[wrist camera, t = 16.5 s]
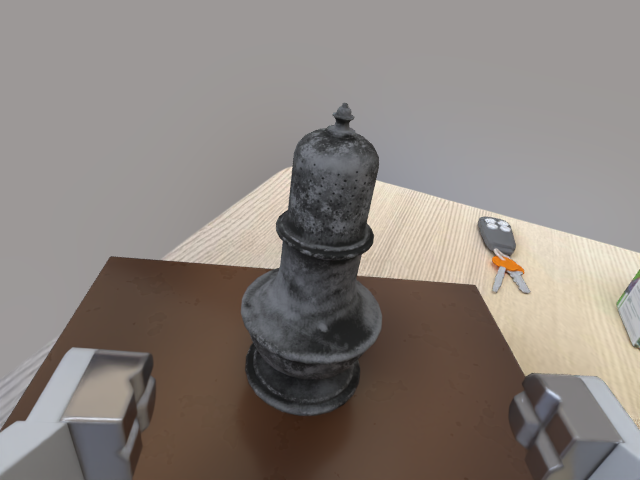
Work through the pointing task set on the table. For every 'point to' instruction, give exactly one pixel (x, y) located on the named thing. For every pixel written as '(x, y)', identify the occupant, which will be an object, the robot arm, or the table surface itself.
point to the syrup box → (631, 310)
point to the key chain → (502, 250)
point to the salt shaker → (317, 279)
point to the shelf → (288, 429)
